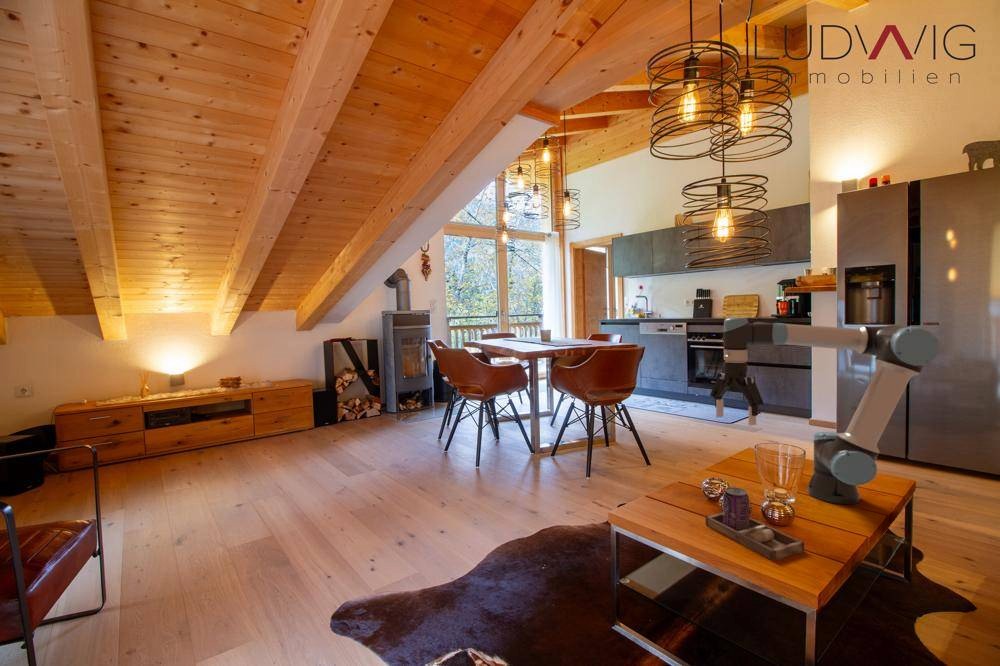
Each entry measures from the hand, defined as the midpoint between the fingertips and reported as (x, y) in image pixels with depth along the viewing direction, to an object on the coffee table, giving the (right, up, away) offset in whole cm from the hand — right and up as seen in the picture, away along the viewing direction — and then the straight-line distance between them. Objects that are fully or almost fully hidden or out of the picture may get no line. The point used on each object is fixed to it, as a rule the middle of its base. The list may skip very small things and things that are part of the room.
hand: (735, 420), depth 163 cm
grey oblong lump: (-8, -28, -32) cm, 43 cm away
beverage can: (-11, -29, -23) cm, 39 cm away
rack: (-9, -30, -28) cm, 42 cm away
